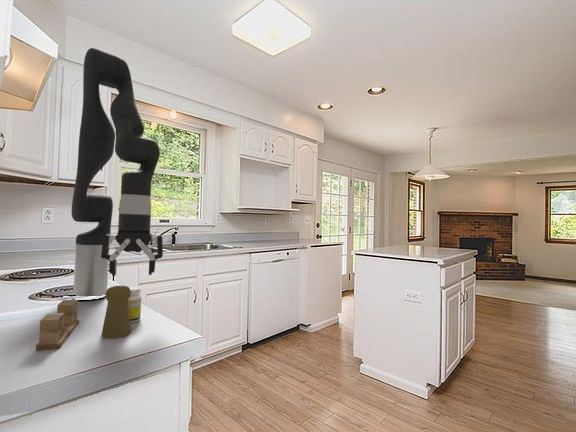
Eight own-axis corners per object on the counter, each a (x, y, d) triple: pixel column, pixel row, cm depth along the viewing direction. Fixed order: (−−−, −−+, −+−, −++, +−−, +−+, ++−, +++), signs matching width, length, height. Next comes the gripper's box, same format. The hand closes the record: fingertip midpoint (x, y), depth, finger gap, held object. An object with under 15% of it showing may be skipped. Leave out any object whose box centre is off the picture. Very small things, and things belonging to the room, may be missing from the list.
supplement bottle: (117, 319, 82) (119, 287, 82) (136, 316, 86) (137, 285, 86) (123, 324, 79) (125, 291, 79) (143, 321, 82) (144, 288, 82)
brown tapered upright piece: (118, 340, 70) (120, 290, 70) (94, 336, 71) (97, 288, 71) (136, 330, 76) (138, 285, 76) (114, 327, 77) (116, 282, 77)
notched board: (59, 324, 77) (60, 300, 77) (78, 323, 78) (80, 299, 78) (35, 350, 63) (37, 320, 63) (59, 348, 64) (60, 319, 64)
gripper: (164, 214, 88) (162, 271, 88) (106, 211, 83) (103, 273, 83) (164, 214, 81) (161, 277, 81) (101, 211, 76) (97, 278, 76)
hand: (132, 274), depth 82 cm, fingers open, 8 cm apart
